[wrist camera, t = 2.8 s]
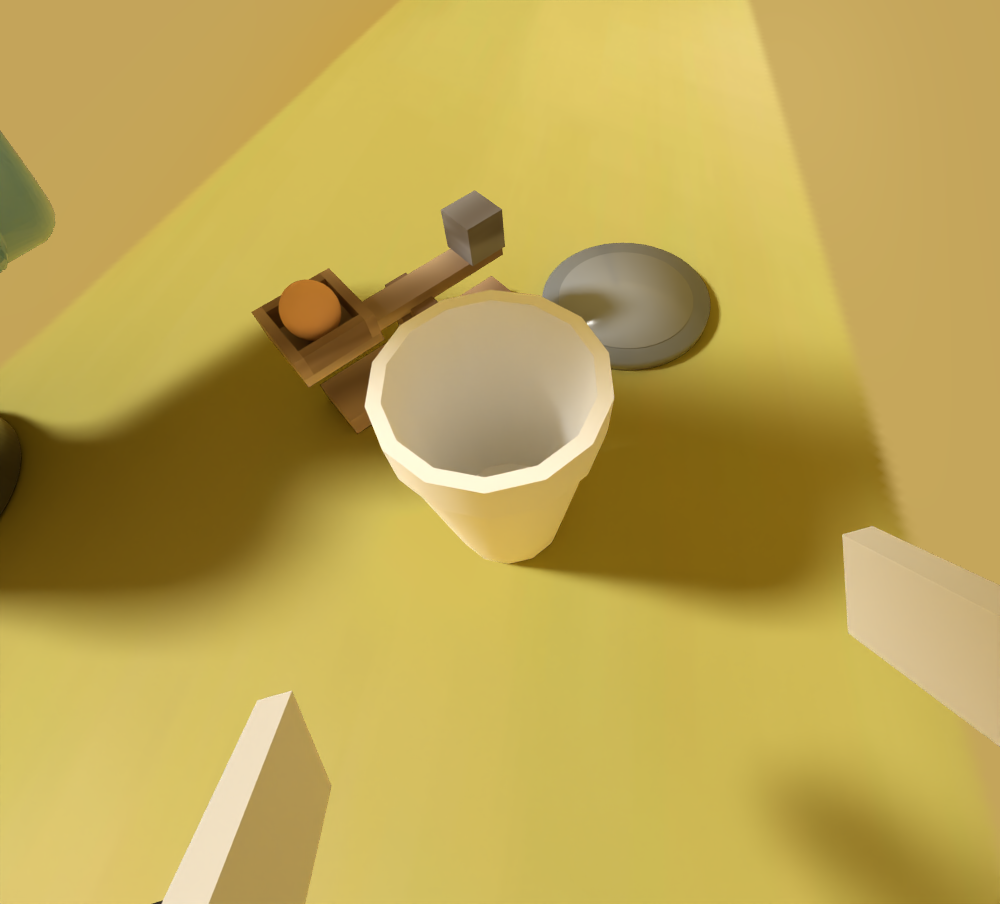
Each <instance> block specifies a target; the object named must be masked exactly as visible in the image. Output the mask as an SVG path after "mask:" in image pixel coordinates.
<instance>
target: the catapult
mask: <svg viewBox="0 0 1000 904" xmlns="http://www.w3.org/2000/svg"><path fill="white" fill-rule="evenodd" d="M441 213H442V218H443V223H444V228H445V234H446V239H447V244H448V247H449V248H451V249H449V250H448V251H446V252H444V253H443V254H441V255H439V256H438V257H436V258H434V259H433V260H431V261H429V262H428V263H426V264H424V265H423V266H421V267H419V268H418V269H416V270H414V271H413V272H411V273H409V274H406V273H404V274H403V275H401V276H399V277H398V278H396V279H394V280H393V281H391V282H389V283H388V284H386V285H385V287H386V288H384V289H383V290H381V291H379V292H378V293H376V294H374V295H373V296H371V297H369V298H368V299H366V300H364V301H363V302H362V301H361V300H360V299H359V298H358V297H357V296H356V295H355V294H354V293H353V292H352V291H351V290H350V289H349V288H348V287H347V286H346V285H345V284H344V283H343V282H342V281H341V280H340V279H339V278H338V277H337V276H336V275H335V274H334V273H333V272H332V271H331V270H330V269H329V268H328V269H327V270H325V271H323V272H321V273H320V274H318V275H316V276H314V277H312V278H311V279H309V280H314V281H318V282H320V283H323V284H324V285H326V286H327V287H329V288H330V289H331V290H332V291H333V292H334V294H335V295H336V296H337V298H338V300H339V303H340V306H341V320H340V323H339V325H338V327H337V328H336V329H334V330H332V331H331V332H329V333H327V334H326V335H324V336H322V337H321V338H319V339H318V340H316V341H309V340H304V339H301V338H299V337H297V336H295V335H294V334H292V333H291V332H290V331H289V330H288V329H287V328H286V327H285V326H284V324H283V322H282V320H281V318H280V315H279V300H280V297H281V296H279V297H277V298H276V299H274V300H272V301H270V302H269V303H267V304H265V305H263V306H262V307H260V308H258V309H256V310H255V311H253V312H252V314H253V315H254V317H255V318H256V320H257V321H258V322H259V324H260V325H261V327H262V328H263V330H264V331H265V333H266V334H267V336H268V337H269V338H270V340H271V341H272V342H273V343H274V345H275V346H276V347H277V348H278V350H279V351H280V352H281V353H282V355H283V356H284V357H285V358H286V360H287V361H288V362H289V363H290V365H291V366H292V367H293V368H294V370H295V371H296V372H297V373H298V375H299V376H300V377H301V378H302V380H303V381H304V382H305V383H306V385H307V386H308V387H310V386H312V385H313V384H315V383H317V382H318V381H320V380H321V379H323V378H325V377H326V376H328V375H329V374H331V373H332V372H334V371H336V370H337V369H339V368H340V367H342V366H344V365H345V364H347V363H348V362H350V361H351V360H353V359H355V358H356V357H358V356H359V355H361V354H362V353H364V352H366V351H367V350H369V349H370V348H372V347H374V346H375V345H377V344H378V343H380V342H381V341H383V340H384V337H383V335H382V332H381V330H383V329H385V328H386V327H388V326H389V325H391V324H393V323H394V322H396V321H398V324H399V326H400V325H401V324H403V323H405V322H406V321H408V320H410V319H411V318H413V317H415V316H416V315H418V314H420V313H421V312H423V311H425V310H426V309H428V308H430V307H431V306H433V305H434V304H436V303H438V302H437V301H436V300H435V299H434V297H436V296H437V295H439V294H440V293H442V292H444V291H445V290H447V289H448V288H450V287H452V286H453V285H455V284H456V283H458V282H460V281H461V280H463V279H464V278H466V277H468V276H469V275H471V274H472V273H474V272H476V271H477V270H479V269H480V268H482V267H484V266H485V265H487V264H488V263H490V262H492V261H493V260H495V259H496V258H498V257H500V256H501V255H503V252H502V248H503V247H505V242H504V230H503V217H502V209H500V208H499V207H498V206H496V205H495V204H493V203H492V202H491V201H489V200H488V199H486V198H485V197H484V196H482V195H481V194H479V193H478V192H476V191H473V192H471V193H469V194H468V195H466V196H464V197H462V198H461V199H459V200H457V201H455V202H454V203H452V204H450V205H449V206H447V207H445V208H443V209H442V210H441ZM487 290H497V291H506V292H511V291H510V290H509V289H507V288H506V287H505V286H504V285H502V284H501V283H500V282H499V281H497V280H496V279H495V278H494V277H492V276H491V277H489V278H487V279H486V280H484V281H483V282H481V283H480V284H478V285H476V286H475V287H473V288H472V289H470V290H469V291H467V292H465V293H464V294H462V295H461V296H463V295H468V294H473V293H478V292H482V291H487ZM385 345H386V343H385V344H384V345H382V346H380V347H379V348H377V349H376V350H374V351H373V352H371V353H369V354H368V355H366V356H365V357H363V358H362V359H360V360H358V361H357V362H355V363H354V364H352V365H351V366H349V367H347V368H346V369H344V370H343V371H341V372H340V373H338V374H336V375H335V376H333V377H332V378H330V379H329V380H327V381H325V382H324V383H322V384H321V387H322V389H323V390H324V392H325V393H326V395H327V397H328V398H329V399H330V401H331V402H332V403H333V404H334V405H335V407H336V408H337V409H338V410H339V412H340V413H341V414H342V415H343V416H344V418H345V419H346V420H347V421H348V423H349V424H350V425H351V426H352V428H353V429H354V430H355V431H356V432H357V434H358V433H360V432H361V431H363V430H364V429H366V428H367V427H368V426H370V425H371V421H370V419H369V416H368V414H367V411H366V409H365V401H366V395H367V389H368V384H369V378H370V372H371V366H372V362H373V360H374V359H375V358H376V357H377V355H378V354H379V353H380V351H381V350H382V349H383V347H384V346H385Z"/></svg>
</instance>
